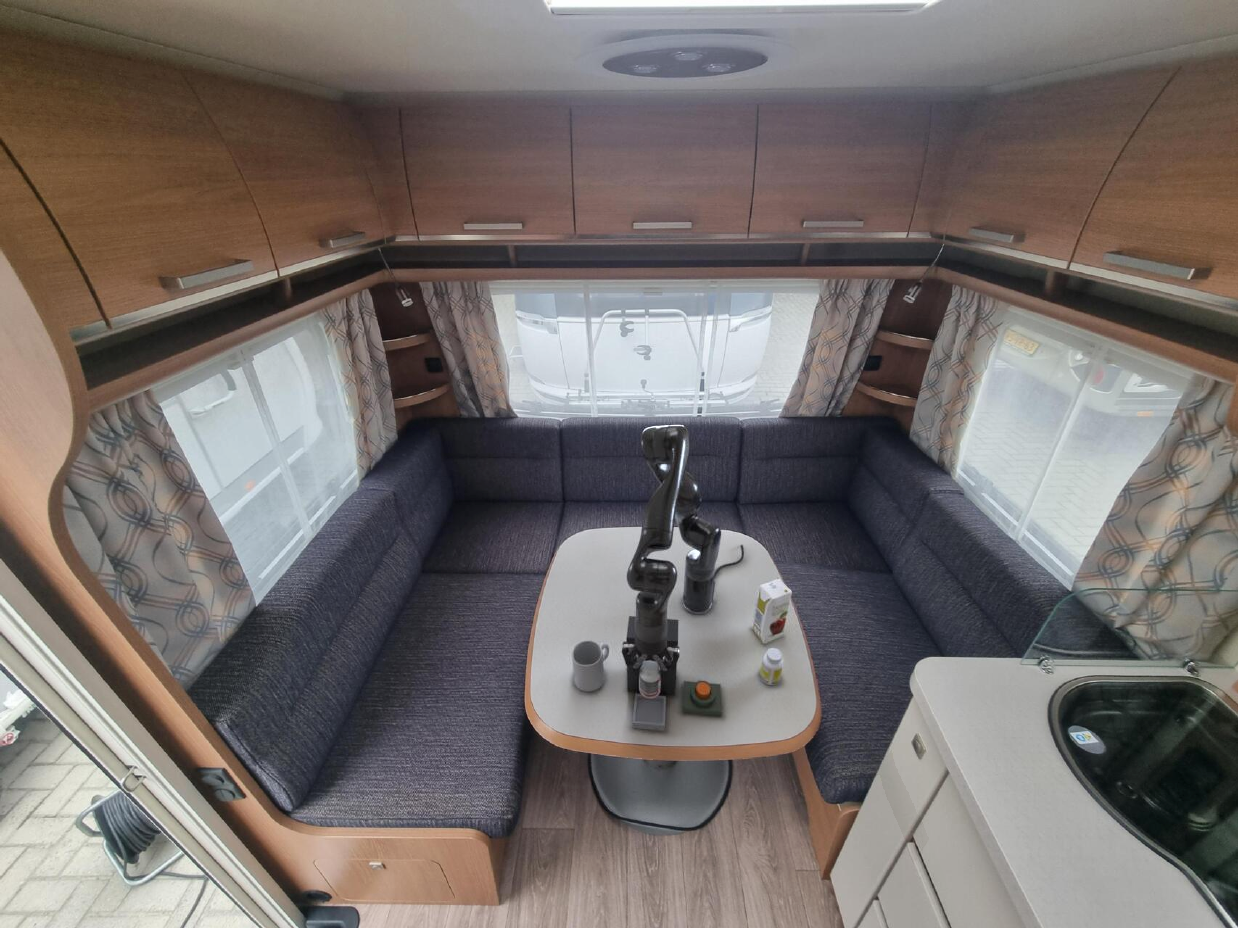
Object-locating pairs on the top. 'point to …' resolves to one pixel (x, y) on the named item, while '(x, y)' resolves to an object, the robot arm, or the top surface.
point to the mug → (589, 664)
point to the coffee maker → (653, 709)
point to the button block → (700, 705)
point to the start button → (703, 690)
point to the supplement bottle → (771, 666)
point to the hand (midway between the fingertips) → (650, 675)
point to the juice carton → (771, 610)
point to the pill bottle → (649, 679)
